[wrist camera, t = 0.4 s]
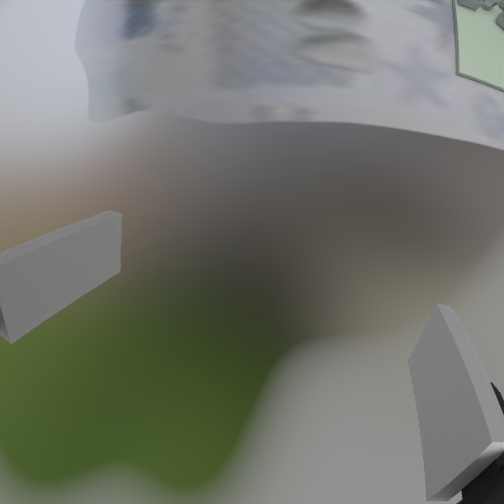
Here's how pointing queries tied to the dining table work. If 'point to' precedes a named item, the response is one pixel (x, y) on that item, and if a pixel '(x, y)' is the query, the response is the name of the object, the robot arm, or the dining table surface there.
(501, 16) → the bar
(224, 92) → the dining table surface
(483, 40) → the board
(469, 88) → the dining table surface
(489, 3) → the tongs fixed
